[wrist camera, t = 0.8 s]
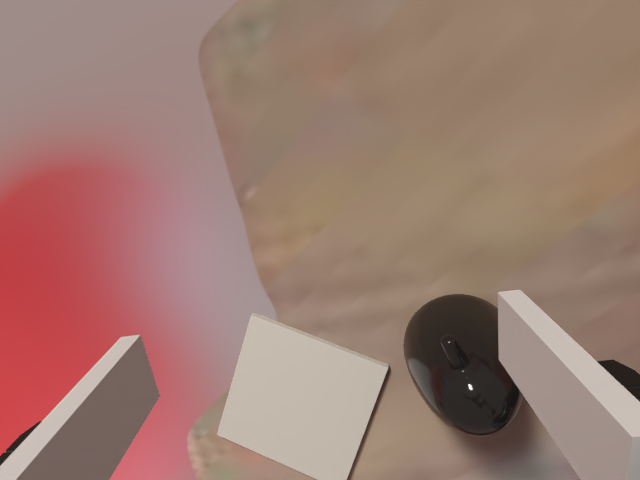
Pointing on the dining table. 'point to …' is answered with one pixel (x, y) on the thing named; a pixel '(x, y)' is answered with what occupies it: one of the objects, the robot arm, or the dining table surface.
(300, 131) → the dining table surface
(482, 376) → the pump dispenser
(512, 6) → the dining table surface
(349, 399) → the ceramic tile
